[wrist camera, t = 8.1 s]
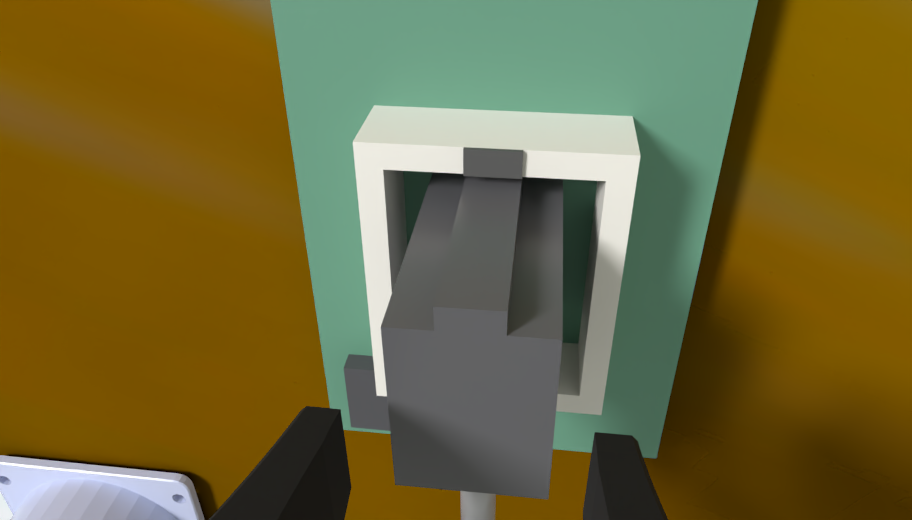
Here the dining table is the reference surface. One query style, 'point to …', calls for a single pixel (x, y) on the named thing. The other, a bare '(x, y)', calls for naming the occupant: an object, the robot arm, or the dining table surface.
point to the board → (516, 170)
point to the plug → (477, 340)
